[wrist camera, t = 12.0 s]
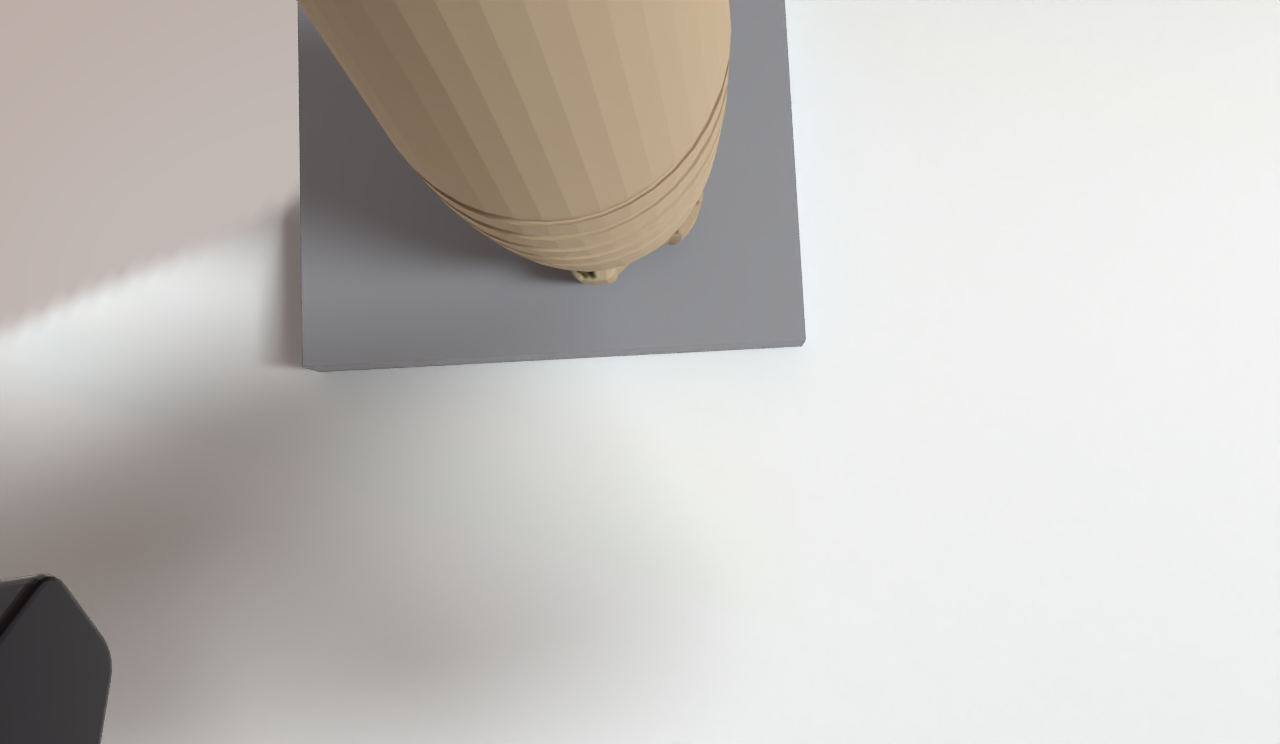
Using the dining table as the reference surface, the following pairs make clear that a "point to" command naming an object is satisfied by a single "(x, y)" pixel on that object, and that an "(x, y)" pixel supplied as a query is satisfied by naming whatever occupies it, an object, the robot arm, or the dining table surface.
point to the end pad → (518, 287)
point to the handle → (548, 114)
